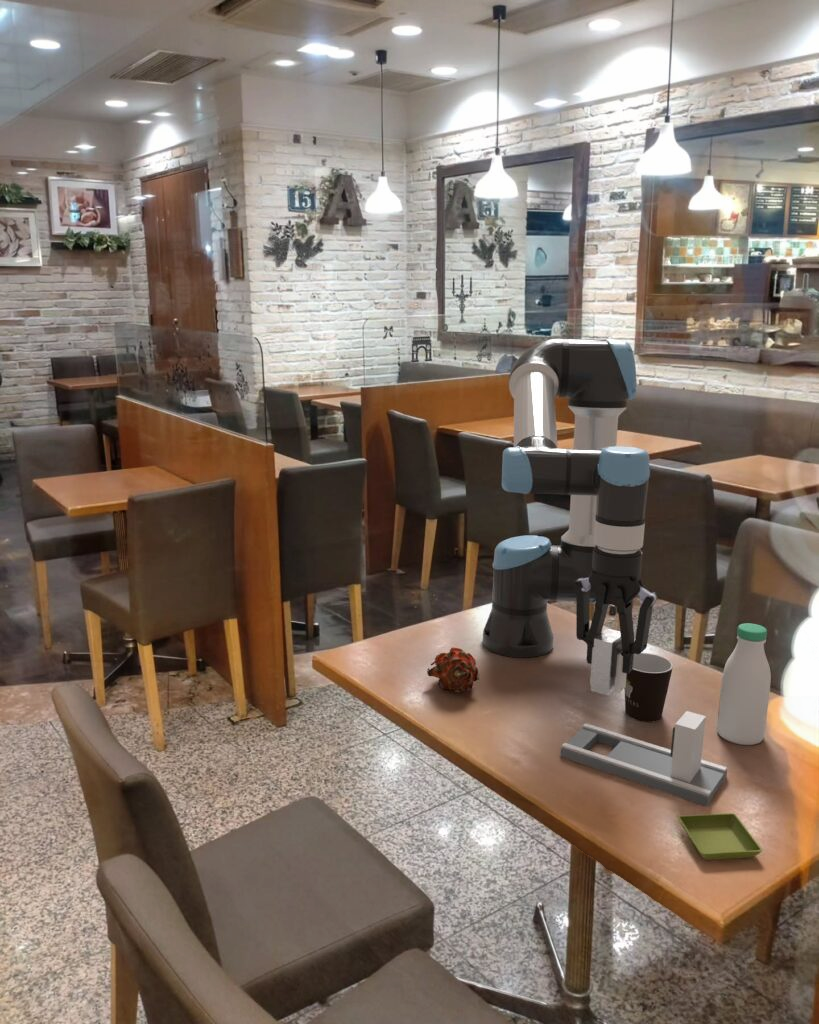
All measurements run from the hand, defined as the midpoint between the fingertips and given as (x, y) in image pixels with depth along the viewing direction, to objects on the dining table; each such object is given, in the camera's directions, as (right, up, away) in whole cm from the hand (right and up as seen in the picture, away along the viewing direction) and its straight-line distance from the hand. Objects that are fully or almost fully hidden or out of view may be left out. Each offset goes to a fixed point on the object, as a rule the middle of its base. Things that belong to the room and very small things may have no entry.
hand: (607, 685), depth 142 cm
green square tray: (+11, -19, -19) cm, 29 cm away
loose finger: (0, 0, 0) cm, 0 cm away
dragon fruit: (-24, -6, +27) cm, 36 cm away
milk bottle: (+25, -11, +10) cm, 29 cm away
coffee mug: (+11, -8, +19) cm, 23 cm away
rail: (+5, -13, 0) cm, 14 cm away
